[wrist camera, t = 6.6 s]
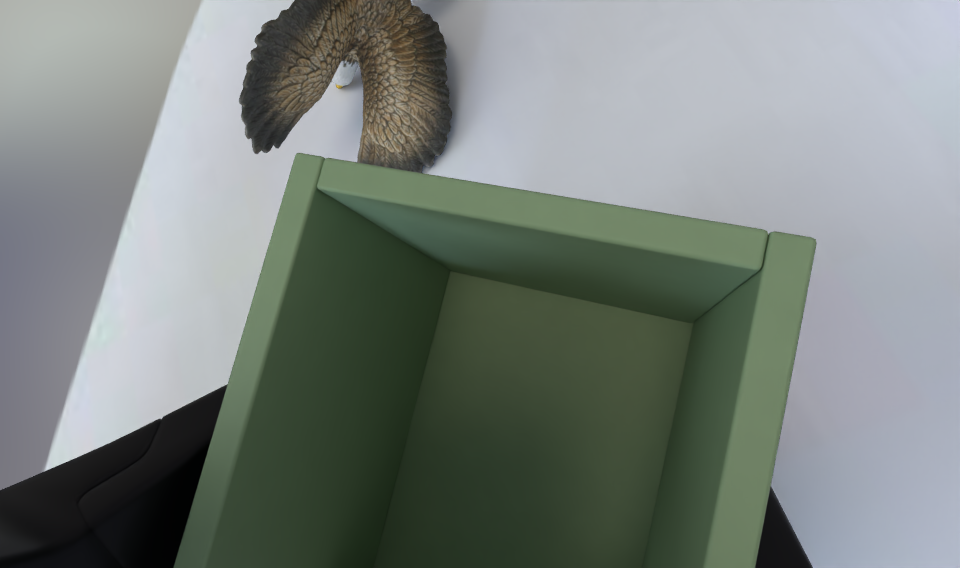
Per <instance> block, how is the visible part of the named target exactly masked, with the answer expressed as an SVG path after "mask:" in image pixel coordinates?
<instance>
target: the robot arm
mask: <svg viewBox="0 0 960 568" xmlns="http://www.w3.org/2000/svg"><path fill="white" fill-rule="evenodd" d="M227 385H228V384H227ZM227 385H225V386H223V387H221V388H219V389H217V390H215V391H213V392H211V393H209V394H207V395H205V396H203V397H201V398H199V399H197V400H195V401H193V402H191V403H189V404H187V405H185V406H184V407H182V408H180V409H178V410H176V411H174V412H172V413H170V414H168V415H166V416H164V417H163V418H162V420H161V419H158V420H156V421H154V422H152V423H150V424H148V425H146V426H144V427H142V428H140V429H138V430H136V431H134V432H132V433H130V434H127V435H125V436H123V437H121V438H119V439H117V440H115V441H113V442H111V443H109V444H107V445H104V446H102V447H100V448H98V449H95V450H93V451H91V452H89V453H86V454H84V455H82V456H80V457H77V458H75V459H73V460H70V461H68V462H66V463H63V464H61V465H59V466H56V467H54V468H52V469H49V470H47V471H45V472H42V473H40V474H38V475H35V476H33V477H31V478H29V479H26V480H24V481H21V482H19V483H17V484H14V485H12V486H10V487H7V488H5V489H2V490H0V568H173V567H174V564H175V561H176V557H177V554H178V551H179V547H180V544H181V540H182V537H183V534H184V530H185V527H186V524H187V520H188V517H189V513H190V510H191V507H192V503H193V500H194V497H195V493H196V490H197V486H198V483H199V480H200V476H201V473H202V469H203V466H204V463H205V459H206V456H207V453H208V449H209V446H210V442H211V439H212V436H213V432H214V429H215V426H216V422H217V419H218V415H219V412H220V409H221V405H222V402H223V399H224V395H225V392H226V388H227ZM755 568H813V567H812V565H811V563H810V561H809V559H808V557H807V555H806V553H805V552H804V550H803V548H802V546H801V544H800V542H799V540H798V538H797V536H796V534H795V532H794V530H793V528H792V526H791V524H790V522H789V520H788V519H787V517H786V515H785V513H784V511H783V509H782V507H781V505H780V503H779V501H778V499H777V497H776V495H775V493H774V491H773V489H772V487H771V486H770V491H769V497H768V502H767V507H766V513H765V518H764V523H763V528H762V534H761V539H760V544H759V549H758V555H757V560H756V565H755Z"/></svg>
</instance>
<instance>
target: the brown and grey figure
mask: <svg viewBox="0 0 960 568" xmlns="http://www.w3.org/2000/svg"><path fill="white" fill-rule="evenodd" d="M255 43H256V44H257V47H256V48H255V49H253V50H252V51H251V57H252V60H251V61H250V62H249V63H248V64H247V68H246V69H247V73H246V76H245V79H244V81H243V90H242V92H241V95H240V98H239V103H240V104H241V105H242V113H241V118H242V121H243V122H244V124H245V126H246V127H245V135H246V137H247V138H248V139H250V138H251V139H252V147H253V151H254V153H255V154H258V153H259V152H260V151H261V150H262V151H263V152H264V153H267V152H269V151H270V150H271V148H272V146H273V145H274V146H275V148H279V147H280V145H281V144H282V142H283V141H284V140H285V139H286V137H287V135H288V134H289V132H290V131H291V130H292V128H293V127H294V126H295V124H296V123H297V122H298V121H299V120H300V118H301V117H302V116H303V114H305V113H306V112H307V111H308V110H309V109H310V108H311V107H312V106H313V105H314V104H315V103H316V102H317V101H319V99H320V98H321V97H322V95H323V94H324V92H325V91H326V89H327V87H328V86H329V84H330V82H331V81H333V82H334V83H335V84H336V87H337V88H338V89H340V88H342V86H344V85H349V84H350V83H351V81H352V80H353V77H354V74H355V72H356V68H357V66H358V64H359V66H360V69H361V75H362V80H363V95H364V101H363V130H362V136H361V141H360V149H359V153H358V161H357V163H362V164H369V165H375V166H381V167H387V168H393V169H399V170H405V171H411V172H417V173H421V172H422V167H423V165H425V166H427V167H431V166H432V165H433V164H434V163H433V161H434V157H435V155H436V156H439V155H440V154H441V153H442V152H443V149H444V146H445V144H446V142H447V135H448V134H449V132H450V128H451V126H450V119H451V118H452V111H451V110H450V108H449V105H448V104H449V101H450V100H449V94H450V92H449V89H448V87H447V85H446V84H445V83H446V81H447V75H446V70H447V68H446V64H445V62H444V59H445V58H446V56H447V55H446V49H447V47H446V44H445V42H444V38H443V35H442V34H441V33H440V31H439V25H438V23H437V22H435V21H433V19H432V17H431V16H430V15H429V14H425V13H423V12H422V10H421V9H420V8H419V7H417V6H412V4H411V1H410V0H295V1H294V2H293V3H292V4H291V6H290V8H289V9H287V10H282V11H281V13H280V15H279V17H278V18H277V19H276V20H271V21H268V22H267V23H265V24H264V25H262V31H261V33H260V34H258V35H257V36H256V38H255Z"/></svg>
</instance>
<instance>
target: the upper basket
mask: <svg viewBox="0 0 960 568" xmlns="http://www.w3.org/2000/svg"><path fill="white" fill-rule="evenodd" d="M815 249H816V239H814V238H812V237H806V236H800V235H794V234H788V233H782V232H776V231H775V232H771V233H770V234H769V235H768V232H767V231H765V230H764V229H757V228H751V227H745V226H739V225H733V224H727V223H721V222H715V221H709V220H703V219H697V218H691V217H685V216H678V215H672V214H666V213H660V212H654V211H648V210H642V209H636V208H630V207H624V206H618V205H612V204H606V203H599V202H593V201H587V200H581V199H575V198H569V197H563V196H557V195H551V194H545V193H539V192H533V191H527V190H520V189H514V188H508V187H502V186H496V185H490V184H484V183H478V182H472V181H466V180H460V179H454V178H448V177H441V176H435V175H429V174H423V173H417V172H411V171H405V170H399V169H393V168H387V167H381V166H375V165H369V164H362V163H356V162H350V161H344V160H338V159H332V158H326V159H325V158H324V157H321V156H315V155H309V154H303V153H297V154H296V155H295V159H294V162H293V165H292V169H291V172H290V176H289V179H288V182H287V186H286V189H285V192H284V196H283V199H282V203H281V206H280V209H279V213H278V216H277V219H276V223H275V226H274V230H273V233H272V236H271V240H270V243H269V247H268V250H267V253H266V257H265V260H264V263H263V267H262V270H261V274H260V277H259V280H258V284H257V287H256V290H255V294H254V297H253V301H252V304H251V307H250V311H249V314H248V317H247V321H246V324H245V328H244V331H243V334H242V338H241V341H240V344H239V348H238V351H237V355H236V358H235V361H234V365H233V368H232V372H231V375H230V378H229V382H228V385H227V388H226V392H225V395H224V399H223V402H222V405H221V409H220V412H219V415H218V419H217V422H216V426H215V429H214V432H213V436H212V439H211V442H210V446H209V449H208V453H207V456H206V459H205V463H204V466H203V469H202V473H201V476H200V480H199V483H198V486H197V490H196V493H195V497H194V500H193V503H192V507H191V510H190V513H189V517H188V520H187V524H186V527H185V530H184V534H183V537H182V540H181V544H180V547H179V551H178V554H177V557H176V561H175V564H174V567H173V568H755V565H756V560H757V555H758V549H759V544H760V539H761V534H762V528H763V523H764V518H765V513H766V507H767V502H768V497H769V491H770V486H771V481H772V476H773V470H774V465H775V460H776V455H777V449H778V444H779V439H780V433H781V428H782V423H783V418H784V412H785V407H786V402H787V397H788V391H789V386H790V381H791V376H792V370H793V365H794V360H795V354H796V349H797V344H798V339H799V333H800V328H801V323H802V318H803V312H804V307H805V302H806V296H807V291H808V286H809V281H810V275H811V270H812V265H813V260H814V254H815Z"/></svg>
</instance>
